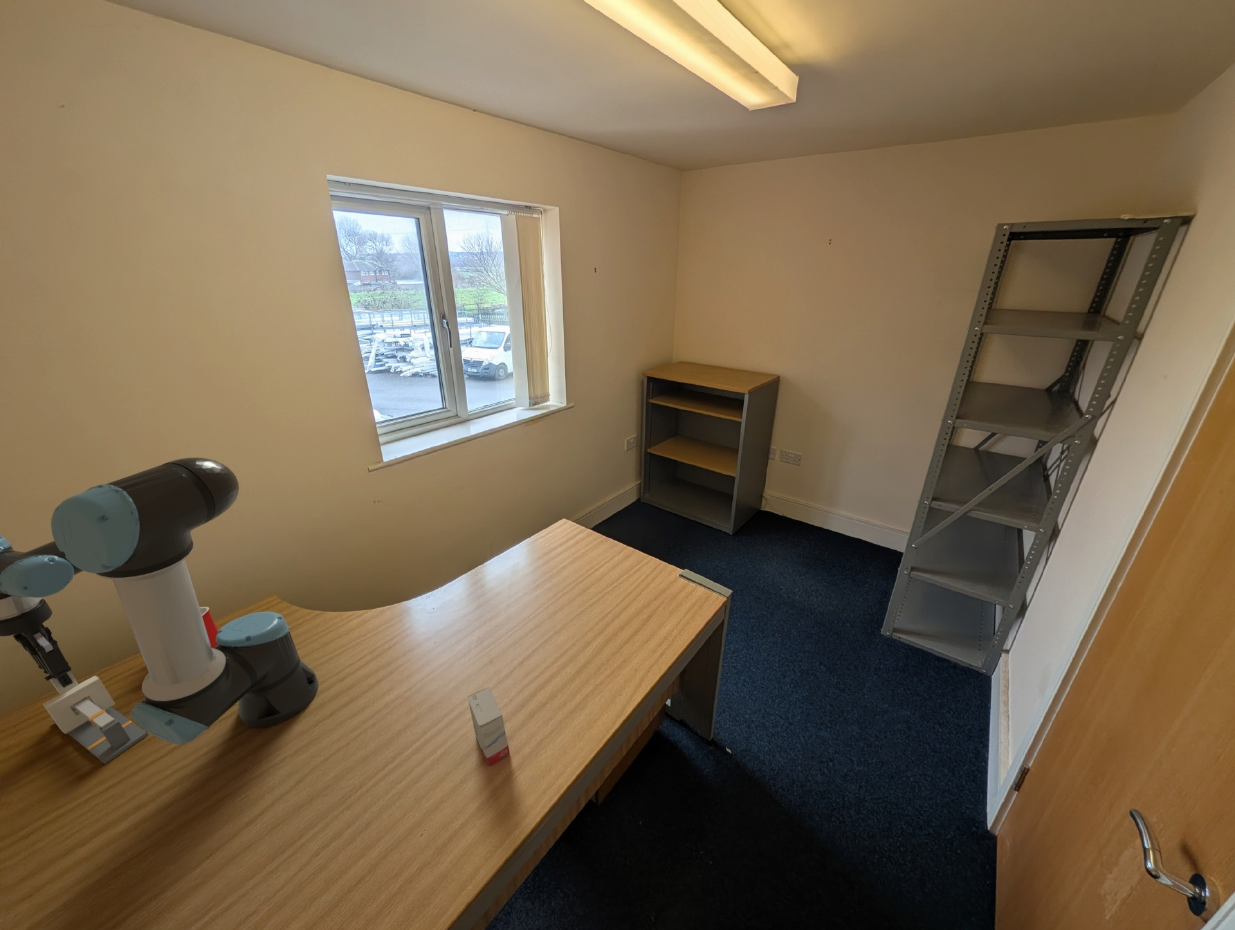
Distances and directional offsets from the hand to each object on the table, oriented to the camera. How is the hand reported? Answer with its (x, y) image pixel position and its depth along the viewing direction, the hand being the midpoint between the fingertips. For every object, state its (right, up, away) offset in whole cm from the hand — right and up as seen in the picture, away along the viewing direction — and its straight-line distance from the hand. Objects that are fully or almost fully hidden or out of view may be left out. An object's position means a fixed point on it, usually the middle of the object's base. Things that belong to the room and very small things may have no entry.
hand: (72, 693), depth 99 cm
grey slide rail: (+5, -8, +1) cm, 10 cm away
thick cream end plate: (+2, -6, +2) cm, 6 cm away
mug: (+5, 0, +22) cm, 23 cm away
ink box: (+93, -10, -2) cm, 93 cm away
